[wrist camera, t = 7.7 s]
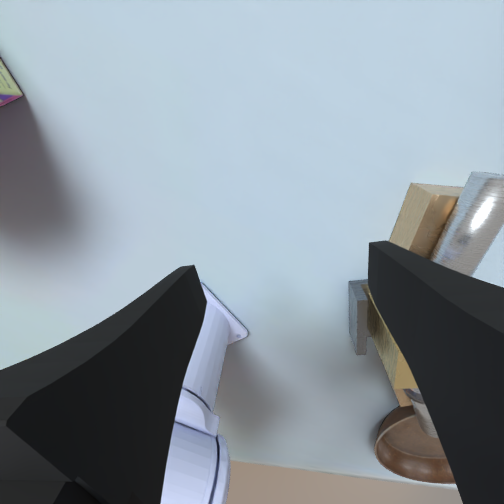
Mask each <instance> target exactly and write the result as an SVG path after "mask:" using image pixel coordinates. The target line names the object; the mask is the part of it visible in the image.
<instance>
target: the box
mask: <svg viewBox="0 0 504 504" xmlns="http://www.w3.org/2000/svg"><path fill="white" fill-rule="evenodd" d="M22 95H23V94H22V92H21V90H20V89H19V87H18V86H17V84H16V83H15V81H14V79H13V78H12V76H11V75H10V73H9V71H8V70H7V68H6V67H5V65H4V63H3V62H2V60H1V59H0V106H3V105H5V104H7V103H9V102H11V101H13V100H15V99H17V98H19V97H21V96H22Z"/></svg>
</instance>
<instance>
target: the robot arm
mask: <svg viewBox="0 0 504 504" xmlns="http://www.w3.org/2000/svg"><path fill="white" fill-rule="evenodd" d="M368 287H369V290H370V293H371V295H372V298H373V300H374V303H375V305H376V308H377V310H378V311H379V313H380V315H381V317H382V319H383V320H384V322H385V324H386V326H387V328H388V329H389V331H390V333H391V335H392V337H393V338H394V340H395V342H396V344H397V345H398V347H399V349H400V351H401V353H402V354H403V356H404V358H405V360H406V362H407V364H408V366H409V368H410V370H411V372H412V375H413V377H414V379H415V382H416V384H417V386H418V388H419V391H420V393H421V395H422V398H423V400H424V403H425V405H426V408H427V410H428V412H429V415H430V417H431V420H432V422H433V425H434V427H435V430H436V432H437V435H438V437H439V440H440V443H441V445H442V448H443V450H444V453H445V455H446V458H447V461H448V463H449V466H450V468H451V471H452V474H453V477H454V479H455V482H456V485H457V488H458V491H459V493H460V496H461V499H462V502H463V504H504V288H503V287H500V286H497V285H494V284H490V283H487V282H484V281H481V280H478V279H476V278H473V277H470V276H467V275H465V274H462V273H460V272H457V271H455V270H452V269H450V268H447V267H445V266H442V265H440V264H438V263H435V262H433V261H431V260H429V259H426V258H424V257H422V256H420V255H418V254H415V253H413V252H411V251H409V250H407V249H405V248H403V247H400V246H398V245H396V244H394V243H391V242H389V241H379V242H371V243H369V262H368ZM238 334H239V335H238ZM247 335H248V331H247V330H246V328H245V327H244V326H243V325H242V324H241V323H240V322H239V321H238V320H237V319H236V318H235V317H234V316H233V315H232V314H231V313H230V312H229V311H228V310H227V309H226V308H225V307H224V306H223V304H222V303H221V302H220V301H219V300H218V299H217V298H216V297H215V296H214V295H213V294H212V293H211V292H210V291H209V290H208V289H207V288H206V287H205V286H204V285H203V284H202V283H201V282H200V280H199V277H198V274H197V271H196V268H195V266H194V265H190V266H182V267H180V268H178V269H176V270H175V271H173V272H172V273H171V274H169V275H168V276H166V277H165V278H164V279H162V280H161V281H160V282H159V283H157V284H156V285H155V286H153V287H152V288H151V289H149V290H148V291H147V292H145V293H144V294H143V295H141V296H140V297H138V298H137V299H135V300H134V301H133V302H131V303H130V304H128V305H127V306H126V307H124V308H123V309H121V310H120V311H118V312H117V313H115V314H113V315H112V316H110V317H109V318H107V319H105V320H104V321H102V322H100V323H99V324H97V325H95V326H93V327H92V328H90V329H88V330H86V331H84V332H82V333H80V334H79V335H77V336H75V337H73V338H71V339H69V340H67V341H65V342H63V343H61V344H59V345H57V346H55V347H53V348H51V349H49V350H47V351H44V352H42V353H40V354H38V355H36V356H33V357H31V358H29V359H27V360H24V361H22V362H19V363H17V364H15V365H12V366H10V367H7V368H5V369H2V370H0V504H226V500H227V495H228V489H229V482H230V456H229V452H228V447H227V443H226V440H225V438H224V437H223V436H222V435H220V434H217V431H218V426H219V420H220V417H219V416H217V415H215V414H213V409H214V405H215V400H216V395H217V390H218V385H219V381H220V376H221V371H222V366H223V362H224V357H225V352H226V347H227V345H229V344H232V343H234V342H236V341H238V340H240V339H243V338H245V337H246V336H247Z"/></svg>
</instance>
